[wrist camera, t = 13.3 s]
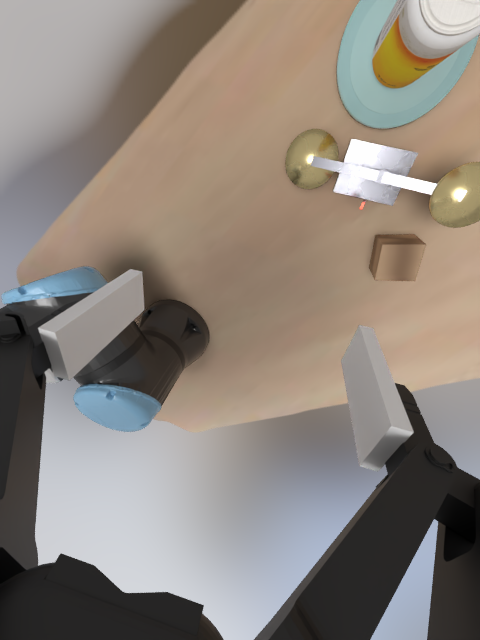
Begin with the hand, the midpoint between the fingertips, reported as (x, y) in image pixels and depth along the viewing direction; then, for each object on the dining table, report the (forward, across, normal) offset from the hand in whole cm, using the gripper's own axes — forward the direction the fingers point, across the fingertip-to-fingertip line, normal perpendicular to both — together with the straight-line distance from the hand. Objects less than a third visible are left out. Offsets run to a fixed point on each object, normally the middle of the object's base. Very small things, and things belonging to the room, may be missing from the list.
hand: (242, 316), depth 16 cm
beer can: (+28, +8, +19) cm, 35 cm away
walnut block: (+29, +17, -1) cm, 33 cm away
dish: (+29, +8, +19) cm, 35 cm away
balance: (+29, +10, +8) cm, 32 cm away
